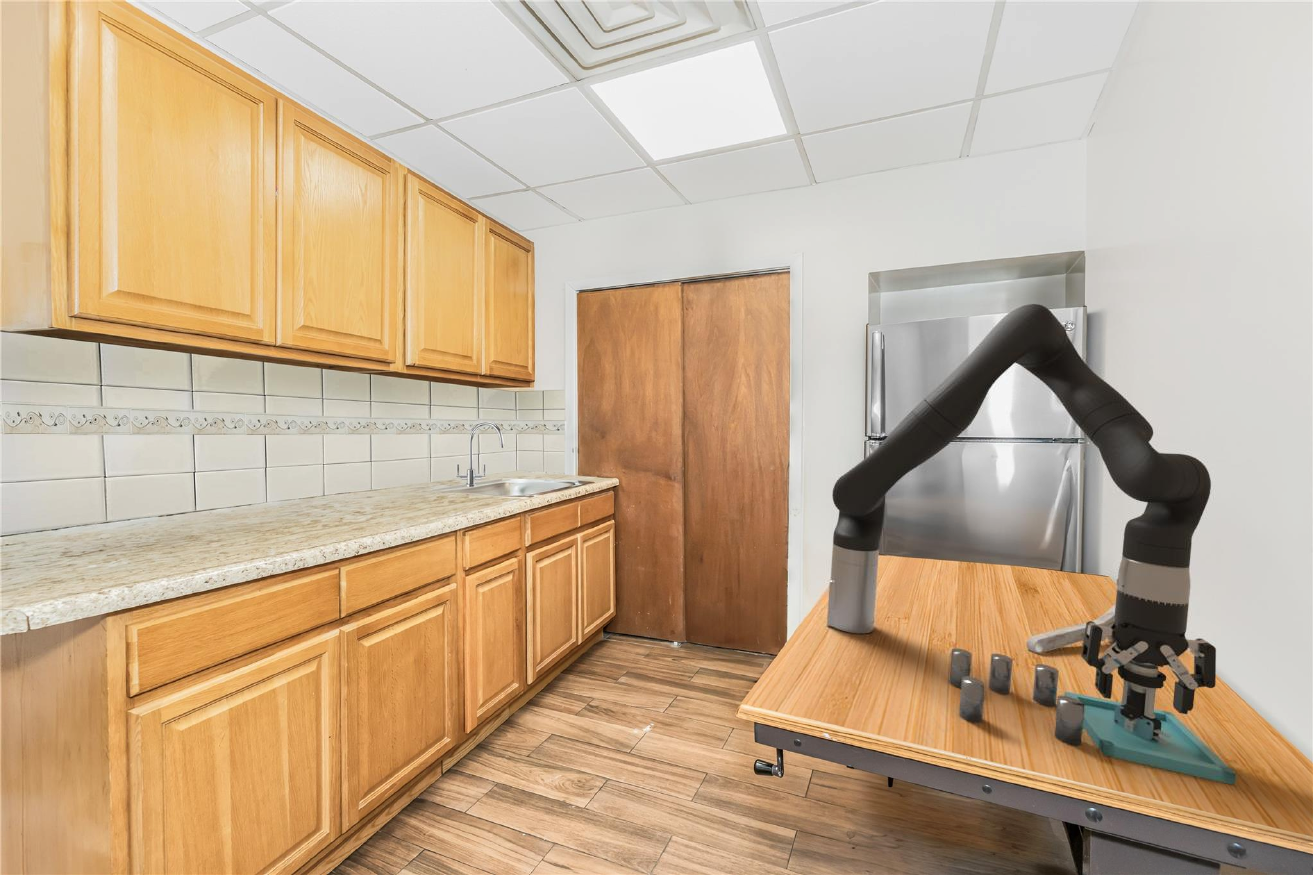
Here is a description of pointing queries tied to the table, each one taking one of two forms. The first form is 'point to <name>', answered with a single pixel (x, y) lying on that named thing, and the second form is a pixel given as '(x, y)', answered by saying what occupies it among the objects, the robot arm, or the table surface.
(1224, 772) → the tray
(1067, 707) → the standoff cluster
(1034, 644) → the wrench
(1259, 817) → the table surface
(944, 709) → the table surface
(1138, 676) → the push button
